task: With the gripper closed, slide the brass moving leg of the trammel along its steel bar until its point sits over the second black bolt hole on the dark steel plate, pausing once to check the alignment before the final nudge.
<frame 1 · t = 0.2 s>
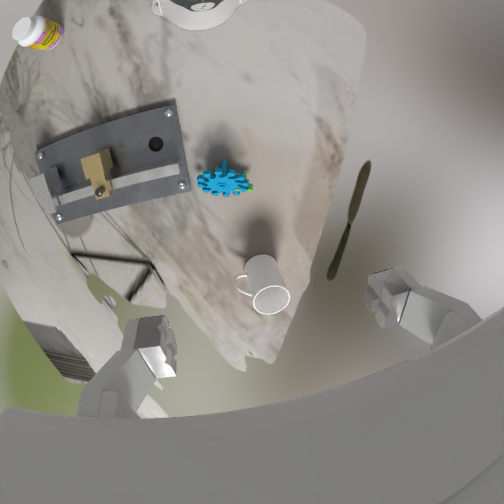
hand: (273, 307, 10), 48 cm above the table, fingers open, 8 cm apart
mug: (254, 267, 68), on the table
moving leg: (101, 173, 45), point 5 cm above the table, slide at 0.0 cm
trammel bar: (99, 173, 45), point 5 cm above the table
supplement bottle: (52, 37, 31), on the table
gear: (223, 178, 55), on the table
bolt plate: (107, 166, 49), on the table
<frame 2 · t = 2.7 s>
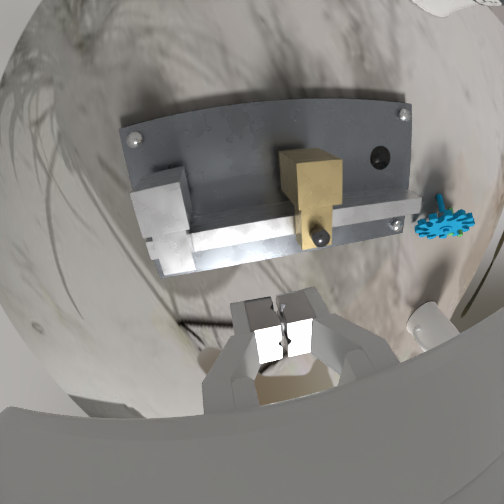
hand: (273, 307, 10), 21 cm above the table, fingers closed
mug: (417, 315, 49), on the table
moving leg: (307, 196, 26), point 5 cm above the table, slide at 0.0 cm
trammel bar: (301, 196, 26), point 5 cm above the table
gear: (430, 214, 36), on the table
bolt plate: (287, 179, 30), on the table
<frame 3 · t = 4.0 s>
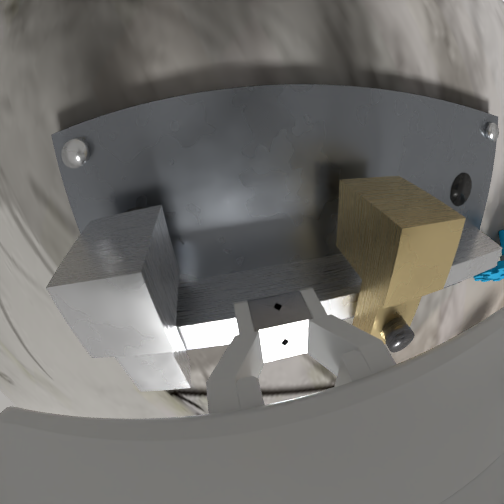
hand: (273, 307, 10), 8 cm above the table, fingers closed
moving leg: (382, 263, 14), point 5 cm above the table, slide at 0.0 cm
trammel bar: (372, 261, 14), point 5 cm above the table
gear: (488, 253, 25), on the table
bolt plate: (337, 219, 18), on the table
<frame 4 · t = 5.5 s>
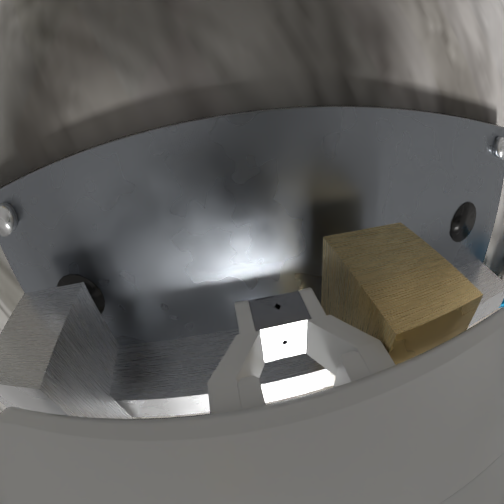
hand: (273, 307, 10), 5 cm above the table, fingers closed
moving leg: (374, 332, 11), point 5 cm above the table, slide at 1.2 cm, touching gripper
trammel bar: (339, 337, 12), point 5 cm above the table
bolt plate: (306, 273, 16), on the table
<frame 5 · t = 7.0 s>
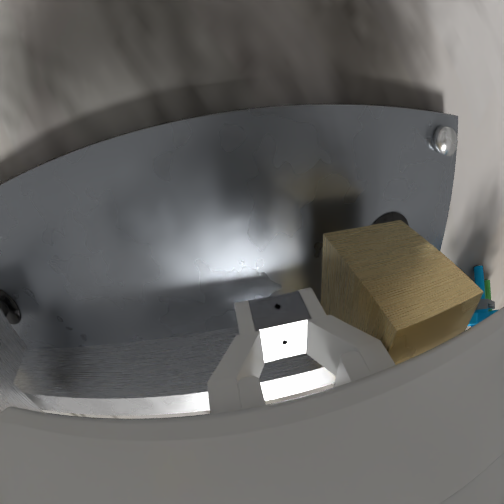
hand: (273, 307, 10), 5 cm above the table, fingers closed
moving leg: (374, 329, 11), point 5 cm above the table, slide at 8.2 cm, touching gripper
trammel bar: (183, 367, 11), point 5 cm above the table
gear: (459, 293, 21), on the table
bolt plate: (183, 294, 15), on the table
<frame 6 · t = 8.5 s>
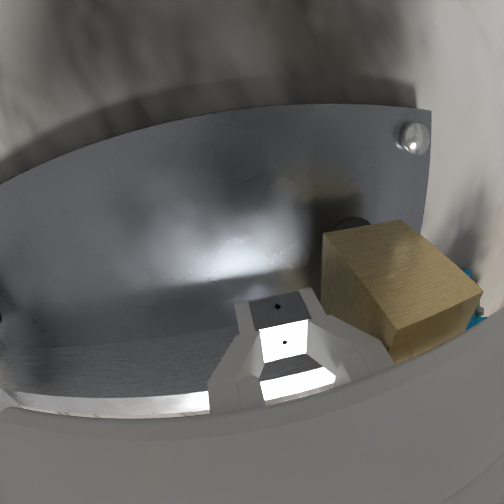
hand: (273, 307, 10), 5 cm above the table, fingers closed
moving leg: (374, 329, 11), point 5 cm above the table, slide at 10.6 cm, touching gripper
trammel bar: (133, 371, 11), point 5 cm above the table
bolt plate: (143, 300, 15), on the table
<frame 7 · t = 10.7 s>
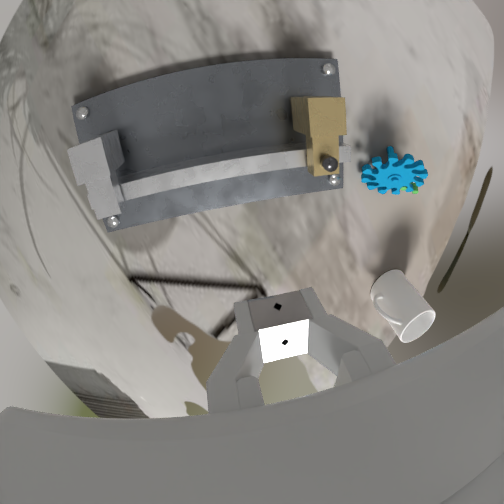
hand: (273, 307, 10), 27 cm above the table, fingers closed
mug: (381, 284, 50), on the table
moving leg: (316, 133, 28), point 5 cm above the table, slide at 10.7 cm
trammel bar: (214, 145, 27), point 5 cm above the table
gear: (381, 168, 37), on the table
bolt plate: (212, 137, 31), on the table
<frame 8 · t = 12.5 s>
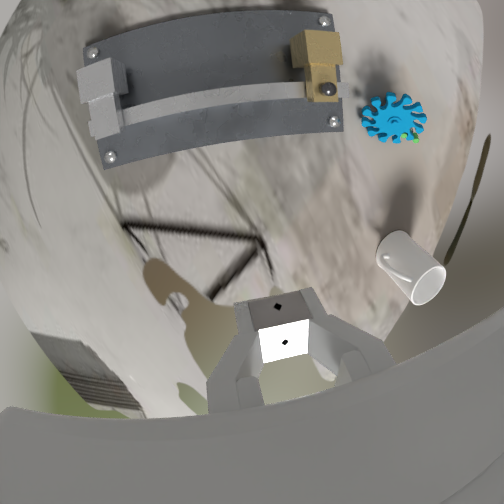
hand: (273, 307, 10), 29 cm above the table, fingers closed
mug: (387, 247, 48), on the table
moving leg: (314, 68, 26), point 5 cm above the table, slide at 10.7 cm
trammel bar: (216, 74, 25), point 5 cm above the table
gear: (381, 118, 35), on the table
bolt plate: (215, 76, 29), on the table
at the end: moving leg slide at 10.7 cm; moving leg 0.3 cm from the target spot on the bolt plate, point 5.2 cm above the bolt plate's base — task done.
